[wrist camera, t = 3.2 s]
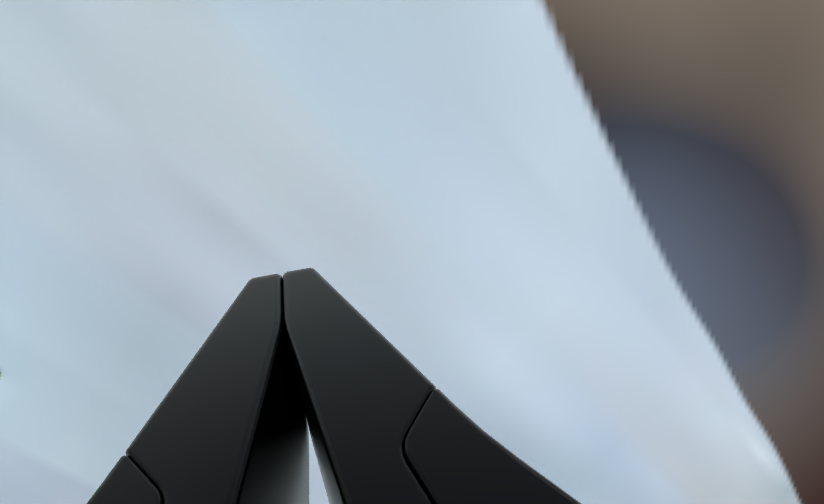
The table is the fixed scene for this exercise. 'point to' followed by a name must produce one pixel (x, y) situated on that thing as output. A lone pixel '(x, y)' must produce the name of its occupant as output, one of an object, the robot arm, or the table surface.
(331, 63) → the table surface
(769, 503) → the table surface
